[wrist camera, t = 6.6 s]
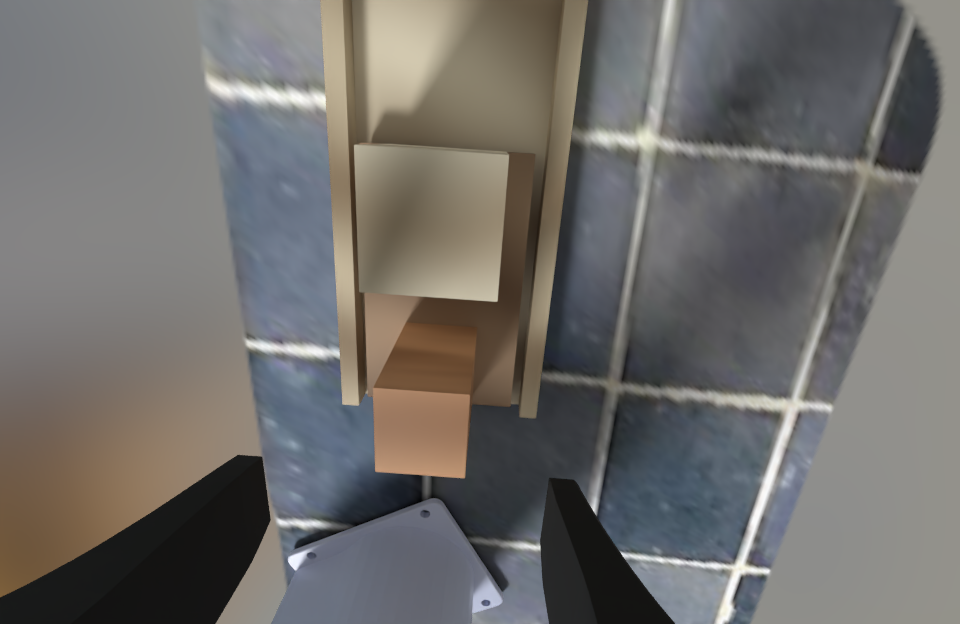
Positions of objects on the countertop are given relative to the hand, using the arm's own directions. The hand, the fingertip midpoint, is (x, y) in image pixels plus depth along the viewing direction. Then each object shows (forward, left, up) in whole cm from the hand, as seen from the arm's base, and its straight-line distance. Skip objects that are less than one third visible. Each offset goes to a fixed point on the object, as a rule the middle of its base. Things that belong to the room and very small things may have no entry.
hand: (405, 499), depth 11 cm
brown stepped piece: (+2, +3, -8) cm, 9 cm away
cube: (+3, +5, -7) cm, 10 cm away
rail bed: (+3, +5, -9) cm, 11 cm away
